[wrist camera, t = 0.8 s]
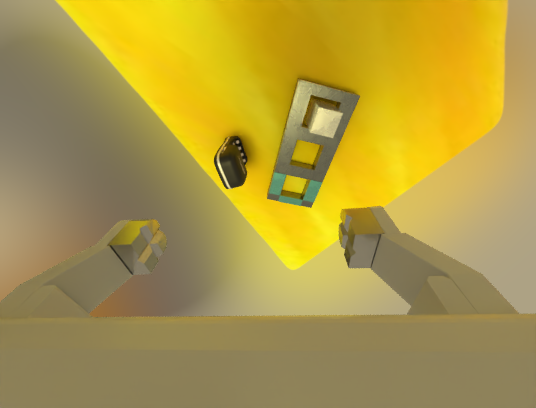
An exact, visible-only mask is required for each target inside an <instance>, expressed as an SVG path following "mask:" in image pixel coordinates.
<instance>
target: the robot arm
mask: <svg viewBox="0 0 536 408" xmlns="http://www.w3.org/2000/svg"><path fill="white" fill-rule="evenodd" d="M340 217H341V220H342V223H341V224H340V225H339V240H340V244H341V247H343V248H344V249H345V253H344V256H345V258H346V262H347V264H348V267H349V268H371V270H373V271H374V272H375V273H376V274H377V275H378V276H379V277H380V278H381V279H383V281H385V282H386V283H387V284H388V285H389V286H390V287H391V288H392V289H393V290H394V291H396V292H397V293H398V294H399V295H400V296H401V297H402V298H403V299H404V300H405V301H406V302H407V303H409V304H410V305H411V308H410V310H409V312H408V313H407V315H311V316H310V315H308V316H307V315H305V316H197V317H196V316H195V317H194V316H189V317H92V316H91V315H89V313H90V312H91V311H92V310H93V309H95V307H97V306H98V305H99V304H100V303H102V302H103V301H104V300H105V299H106V298H107V297H109V296H110V295H111V294H112V293H113V292H114V291H115V290H117V289H118V288H119V287H120V286H121V285H122V284H124V283H125V282H126V281H127V280H128V279H129V278H131V277H132V275H137V274H151V273H152V271H153V269H154V268H155V266H156V264H157V263H158V257H159V256H160V255H161V254H163V253H164V251H165V249H166V245H167V240H166V236H165V234H164V233H163V232H161V231H160V230H159V228H160V225H159V224H158V222H157V220H154V219H143V220H122V221H119V222H118V223H117V224H116V225H115V226H114V227H113V228H112V229H111V230H110V231H109V232H108V233H107V234H106V235H105V236H104V237H103V238H102V239H101V240H100V241H99V242H98V243H97V244H96V245H95V246H93V247H89V248H87V249H85V250H83V251H82V252H80V253H78V254H76V255H74V256H72V257H70V258H69V259H67V260H65V261H63V262H61V263H60V264H58V265H56V266H54V267H52V268H50V269H48V270H47V271H45V272H43V273H41V274H39V275H37V276H35V277H33V278H32V279H30V280H28V281H26V282H24V283H23V284H20V285H19V286H18V287H16V288H15V289H14V290H13V291H12V292H11V293H10V294H9V295H7V296H6V297H5V298H4V299H3V300H2V301H1V302H0V408H536V314H519V313H518V312H517V311H516V310H515V309H514V307H513V306H512V305H511V304H510V303H509V302H508V301H507V300H506V299H505V298H504V297H503V296H502V295H501V294H500V293H499V291H497V289H496V288H495V287H494V286H493V285H492V284H491V283H490V282H489V281H488V280H487V279H486V278H485V277H484V276H483V274H481V273H479V272H477V271H475V270H473V269H472V268H470V267H468V266H466V265H464V264H462V263H460V262H458V261H457V260H455V259H453V258H451V257H449V256H447V255H445V254H443V253H442V252H440V251H438V250H436V249H434V248H432V247H430V246H429V245H427V244H425V243H423V242H421V241H419V240H417V239H415V238H414V237H412V236H410V235H408V234H406V233H401V232H400V231H399V229H398V228H397V227H396V226H395V224H394V222H393V221H392V220H391V218H390V217H389V216H388V214H387V213H386V211H385V210H384V208H383V207H381V206H375V207H367V208H351V209H342V211H341V216H340Z"/></svg>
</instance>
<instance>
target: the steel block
mask: <svg viewBox="0 0 536 408" xmlns="http://www.w3.org/2000/svg"><path fill="white" fill-rule="evenodd" d="M342 115H343V113H342V112H341V111H340V110H339V109H338V108H336V107H335V106H334V105H333V104H332V103H328V102H324V101H320V100H316V99H313V98H312V99H311V103H310V106H309V109H308V112H307V115H306V118H305V122H306V124H307V126H308V129H309V131H310V133H314V134H318V135H322V136H326V137H330V138H333V137H334V134H335V132H336V129H337V127H338V125H339V122H340V120H341V117H342Z"/></svg>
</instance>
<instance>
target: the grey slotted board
mask: <svg viewBox="0 0 536 408" xmlns="http://www.w3.org/2000/svg"><path fill="white" fill-rule="evenodd" d="M311 95H314V96H318V97H322V98H326V99H329V100H333V101H337V104H336V106H335V107H336V108H338V109H339V110H340V111H341V112H342V113H343V115H342V117H341V120H340V122H339V125H338V127H337V129H336V132H335V134H334V137H333V138H330V137H326V136H322V135H318V134H314V133H310V131H309V129H308V126H307V125H304V124H302V122H303V119H304V116H305V113H306V109H307V106H308V103H309V100H310V96H311ZM359 97H360V96H359V95H357V94H355V93H351V92H347V91H344V90H340V89H336V88H332V87H329V86H325V85H321V84H318V83H314V82H310V81H306V80H303V79H299V78H298V80H297V83H296V87H295V91H294V95H293V99H292V102H291V106H290V110H289V114H288V117H287V121H286V125H285V129H284V133H283V136H282V140H281V144H280V148H279V151H278V155H277V159H276V163H275V167H274V170H273V174H272V178H271V182H270V185H269V189H268V193H267V199H271V200H276V201H279V202H284V203H289V204H294V205H299V206H306V207H310V208H311V207H312V205H313V202H314V200H315V198H316V196H317V194H318V191H319V189H320V187H321V184H322V182H323V179H324V177H325V175H326V173H327V170H328V168H329V166H330V163H331V161H332V159H333V157H334V154H335V152H336V150H337V147H338V145H339V143H340V141H341V138H342V136H343V134H344V131H345V129H346V127H347V125H348V122H349V120H350V118H351V115H352V113H353V111H354V109H355V106H356V104H357V102H358V99H359ZM297 139H298V140H303V141H307V142H311V143H315V144H320V148H319V150H318V153H317V156H316V158H315V161H314V163H313V165H310V164H305V163H301V162H296V161H292V160H291V158H292V155H293V151H294V148H295V145H296V142H297ZM286 175H291V176H295V177H300V178H305V179H307V182H306V184H305V187H304V189H303V192H302V194H299V193H294V192H289V191H284V190H282V187H283V184H284V181H285V177H286Z"/></svg>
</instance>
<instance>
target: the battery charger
mask: <svg viewBox="0 0 536 408" xmlns="http://www.w3.org/2000/svg"><path fill="white" fill-rule="evenodd" d="M246 163H247V157H246V154H245V151H244V148H243V145H242V142H241V140H240V138H239V137H236V136H233V137H228V138H226V139H225V141H224V143H223V144H222V145H221V147H220V148H219V150H218V151H217V153H216V155H215V157H214V164H215V167H216V169H217V172H218V174H219V176H220V178H221V181H222V183H223V185H224V187H225V188H226V189H232V188H235V187H239V186H242V185H243V184H244V182H245V180H246V177H247V170H246V167H245V164H246Z"/></svg>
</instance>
